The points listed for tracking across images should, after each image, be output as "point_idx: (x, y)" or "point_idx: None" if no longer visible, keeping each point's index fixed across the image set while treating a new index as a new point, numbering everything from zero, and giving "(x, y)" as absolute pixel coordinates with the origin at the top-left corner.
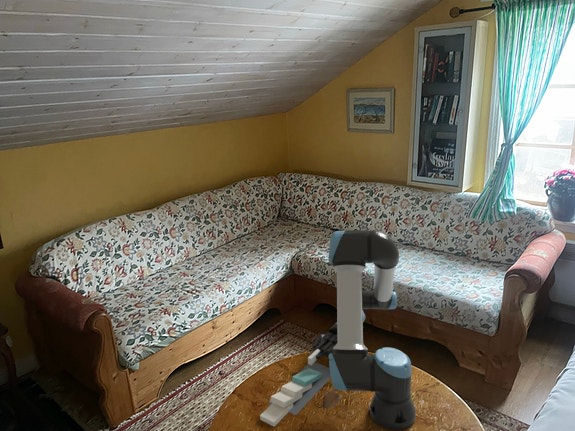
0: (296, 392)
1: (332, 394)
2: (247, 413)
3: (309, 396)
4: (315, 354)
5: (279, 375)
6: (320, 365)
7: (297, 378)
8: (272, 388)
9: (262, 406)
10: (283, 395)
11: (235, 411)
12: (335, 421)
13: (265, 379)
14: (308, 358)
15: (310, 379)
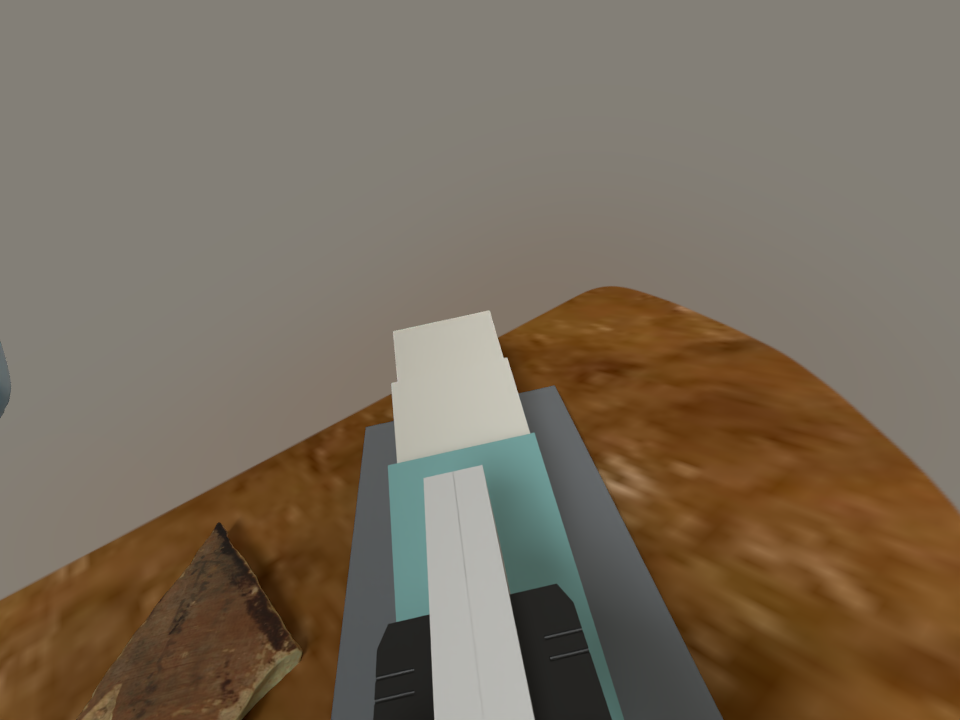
0: (393, 397)
1: (189, 685)
2: (578, 340)
3: (374, 545)
4: (433, 581)
5: (809, 556)
6: None
7: (480, 445)
8: (670, 456)
9: (568, 381)
10: (456, 363)
11: (626, 320)
12: (134, 553)
13: (808, 464)
14: (469, 472)
15: (392, 533)
